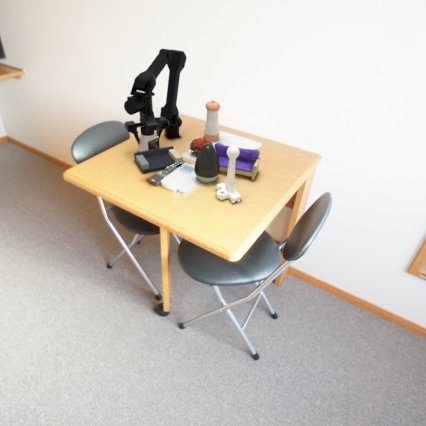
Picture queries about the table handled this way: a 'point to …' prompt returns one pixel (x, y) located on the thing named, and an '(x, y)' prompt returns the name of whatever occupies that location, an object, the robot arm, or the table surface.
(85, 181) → the table surface
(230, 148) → the joystick
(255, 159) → the toy sofa
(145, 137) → the medicine bottle
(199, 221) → the table surface
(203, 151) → the dark grey tapered dome
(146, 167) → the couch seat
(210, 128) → the pepper shaker
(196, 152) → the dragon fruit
